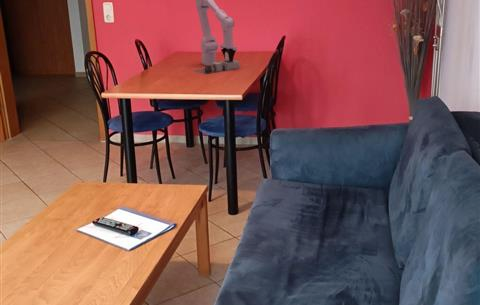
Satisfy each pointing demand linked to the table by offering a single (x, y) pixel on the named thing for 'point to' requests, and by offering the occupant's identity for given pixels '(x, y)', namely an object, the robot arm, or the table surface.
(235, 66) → the socket
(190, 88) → the table surface
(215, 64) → the pin guide
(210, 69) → the pin
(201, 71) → the base plate
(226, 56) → the peg
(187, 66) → the table surface
